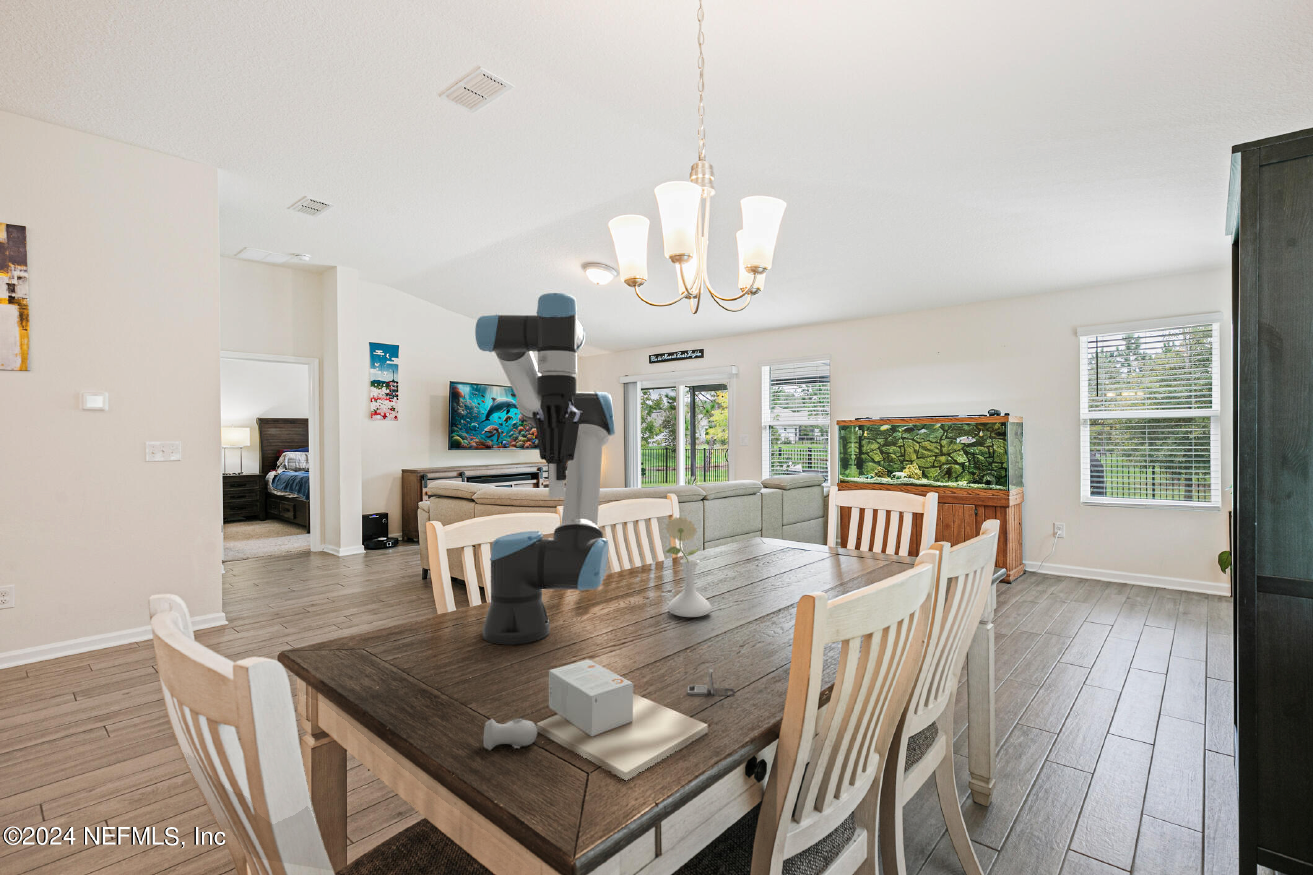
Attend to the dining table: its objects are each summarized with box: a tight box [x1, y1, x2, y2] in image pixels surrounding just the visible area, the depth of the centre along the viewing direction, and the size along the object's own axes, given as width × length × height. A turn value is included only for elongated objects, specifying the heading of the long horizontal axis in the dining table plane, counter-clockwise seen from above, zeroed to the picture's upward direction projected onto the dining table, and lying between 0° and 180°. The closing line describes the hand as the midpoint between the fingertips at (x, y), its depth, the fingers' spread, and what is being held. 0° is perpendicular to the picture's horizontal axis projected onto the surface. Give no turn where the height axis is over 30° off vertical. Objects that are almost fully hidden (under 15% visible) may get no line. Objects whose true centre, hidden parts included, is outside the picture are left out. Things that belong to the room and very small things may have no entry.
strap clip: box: [687, 668, 736, 697], centre depth 109 cm, size 8×3×4 cm, turn 86°
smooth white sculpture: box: [483, 718, 538, 751], centre depth 91 cm, size 4×8×5 cm
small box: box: [548, 659, 634, 737], centre depth 97 cm, size 8×6×13 cm
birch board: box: [536, 693, 709, 781], centre depth 94 cm, size 20×18×1 cm
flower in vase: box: [665, 516, 713, 618], centre depth 155 cm, size 13×11×25 cm
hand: (556, 497), depth 116 cm, fingers closed
